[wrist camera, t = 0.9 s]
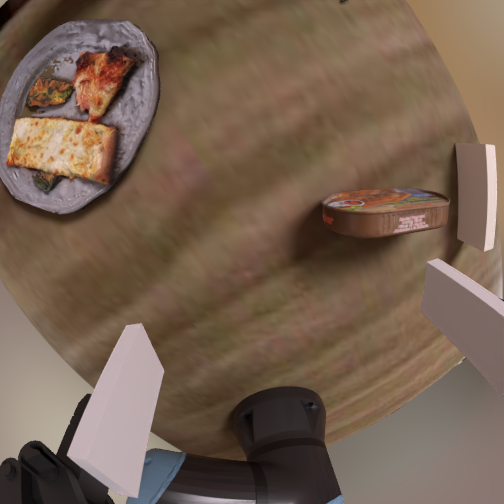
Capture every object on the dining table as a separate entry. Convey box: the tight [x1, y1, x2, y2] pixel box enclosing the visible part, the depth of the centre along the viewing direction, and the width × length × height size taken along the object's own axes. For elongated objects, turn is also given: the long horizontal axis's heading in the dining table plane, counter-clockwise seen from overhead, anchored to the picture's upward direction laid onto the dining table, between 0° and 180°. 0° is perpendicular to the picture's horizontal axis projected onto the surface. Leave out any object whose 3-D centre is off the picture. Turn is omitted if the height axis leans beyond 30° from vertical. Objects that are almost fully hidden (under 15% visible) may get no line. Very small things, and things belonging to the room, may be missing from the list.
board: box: [455, 143, 497, 251], centre depth 26 cm, size 14×2×6 cm, turn 10°
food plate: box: [0, 19, 161, 215], centre depth 21 cm, size 25×23×4 cm
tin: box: [321, 188, 450, 238], centre depth 25 cm, size 15×3×8 cm, turn 97°
